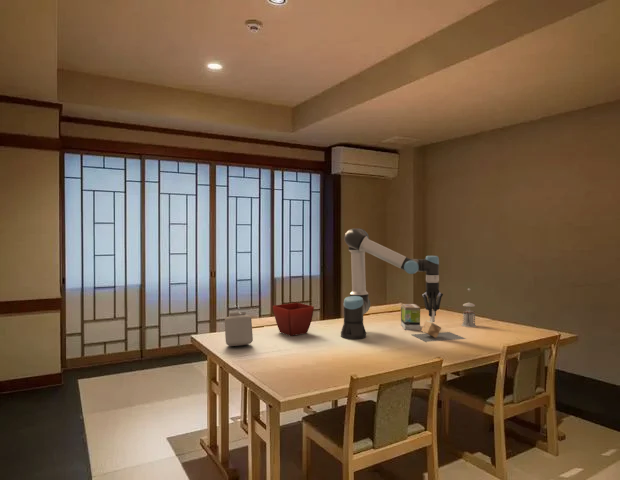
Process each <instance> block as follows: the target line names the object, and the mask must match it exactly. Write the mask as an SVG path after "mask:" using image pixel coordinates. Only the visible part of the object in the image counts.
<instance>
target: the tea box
mask: <svg viewBox="0 0 620 480" xmlns="http://www.w3.org/2000/svg"><path fill="white" fill-rule="evenodd" d="M400 304H401V305H400V326H401V327H402V328H403V329H404V330H405V331H418V330H419V331H421V307H420V306H419V305H417V304H416V303H400Z"/></svg>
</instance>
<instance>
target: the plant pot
mask: <svg viewBox="0 0 620 480" xmlns="http://www.w3.org/2000/svg"><path fill="white" fill-rule="evenodd" d="M314 310H315V306H313V305H308V304H305V303H301V302H292V303H285V304H284V303H282V304H276V305H272V311H273V316H274V319H275V322H276V325H277V328H278V331H279V333H280V332H281V334H283V333H284V334H283V335H286V334H287V336H289V335H290V337H293V335H294V336H298V335H305V334H308V331H309V329H310V327H311V323H312V319H313V315H314Z"/></svg>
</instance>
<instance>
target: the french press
mask: <svg viewBox="0 0 620 480" xmlns="http://www.w3.org/2000/svg"><path fill="white" fill-rule="evenodd" d="M471 290H472V289H471V288H467V291H471ZM462 306H463V307H466V308H468V309H465V310H463V313H462V323H461V324H460V325H461V327H464V328H477V325H476V312H475V310H471V308H474V307H476V304H474V303H472V302H466V303H465V302H464V303H463V304H462Z"/></svg>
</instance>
